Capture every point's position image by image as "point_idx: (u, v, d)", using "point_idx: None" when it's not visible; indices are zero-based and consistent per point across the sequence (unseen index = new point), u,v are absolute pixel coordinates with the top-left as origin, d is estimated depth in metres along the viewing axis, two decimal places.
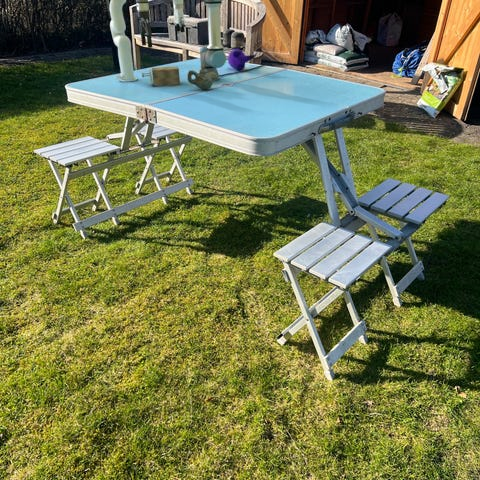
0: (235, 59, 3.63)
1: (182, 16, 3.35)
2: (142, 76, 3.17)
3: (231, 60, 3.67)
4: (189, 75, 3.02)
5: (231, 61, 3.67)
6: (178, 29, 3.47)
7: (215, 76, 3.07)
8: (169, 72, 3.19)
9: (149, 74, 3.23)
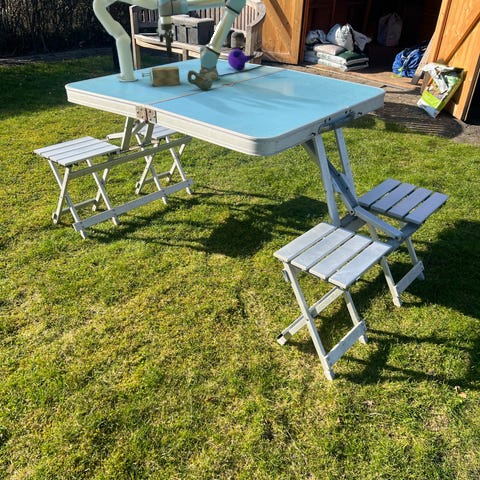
0: (235, 59, 3.63)
1: None
2: (142, 76, 3.17)
3: (231, 60, 3.67)
4: (189, 75, 3.02)
5: (231, 61, 3.67)
6: (162, 40, 3.35)
7: (215, 76, 3.07)
8: (169, 72, 3.19)
9: (149, 74, 3.23)
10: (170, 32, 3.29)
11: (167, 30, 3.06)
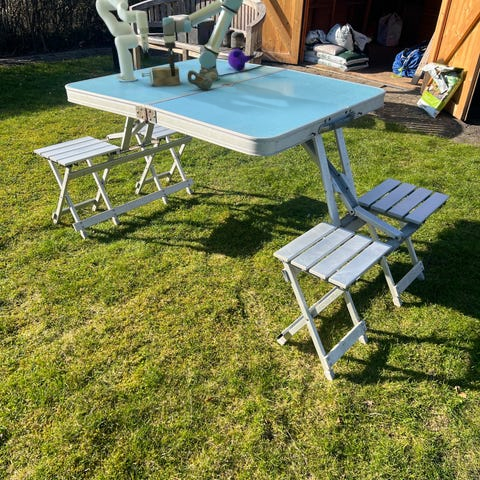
0: (235, 59, 3.63)
1: None
2: (142, 76, 3.17)
3: (231, 60, 3.67)
4: (189, 75, 3.02)
5: (231, 61, 3.67)
6: None
7: (215, 76, 3.07)
8: (169, 72, 3.19)
9: (149, 74, 3.23)
10: None
11: (170, 49, 3.13)
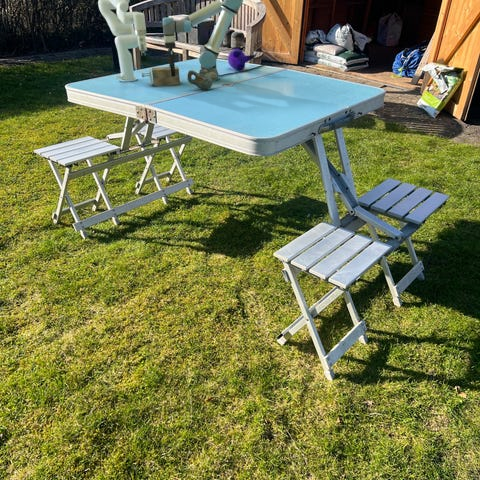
0: (235, 59, 3.63)
1: None
2: (142, 76, 3.17)
3: (231, 60, 3.67)
4: (189, 75, 3.02)
5: (231, 61, 3.67)
6: None
7: (215, 76, 3.07)
8: (169, 72, 3.19)
9: (149, 74, 3.23)
10: (141, 49, 3.14)
11: (170, 49, 3.13)
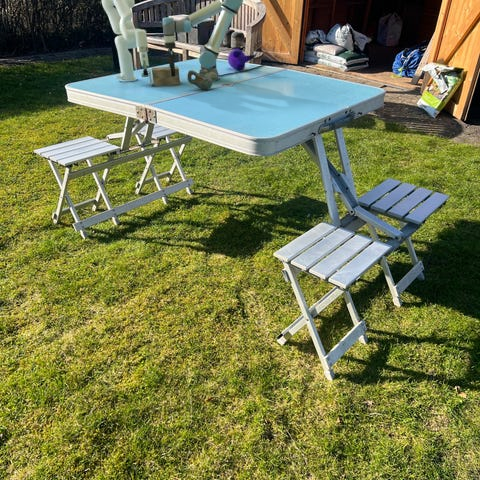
0: (235, 59, 3.63)
1: None
2: (142, 76, 3.17)
3: (231, 60, 3.67)
4: (189, 75, 3.02)
5: (231, 61, 3.67)
6: None
7: (215, 76, 3.07)
8: (169, 72, 3.19)
9: (149, 74, 3.23)
10: None
11: (170, 49, 3.13)
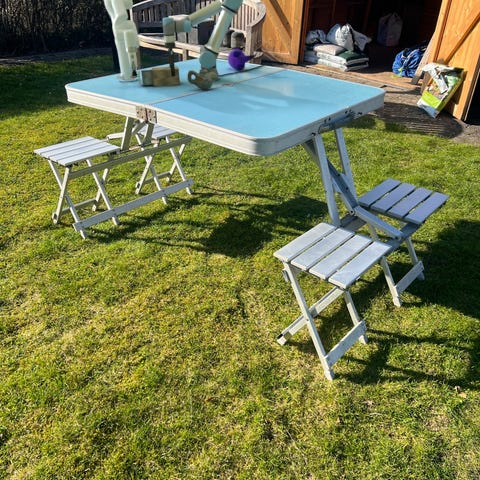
0: (235, 59, 3.63)
1: None
2: (131, 77, 3.16)
3: (231, 60, 3.67)
4: (189, 75, 3.02)
5: (231, 61, 3.67)
6: None
7: (215, 76, 3.07)
8: (169, 72, 3.19)
9: (138, 75, 3.22)
10: None
11: (170, 49, 3.13)
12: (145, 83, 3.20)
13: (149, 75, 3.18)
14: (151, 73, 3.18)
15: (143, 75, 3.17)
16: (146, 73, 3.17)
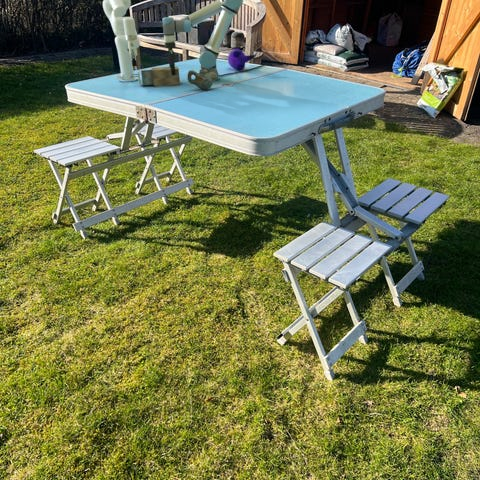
0: (235, 59, 3.63)
1: None
2: (130, 77, 3.16)
3: (231, 60, 3.67)
4: (189, 75, 3.02)
5: (231, 61, 3.67)
6: None
7: (215, 76, 3.07)
8: (169, 72, 3.19)
9: (138, 75, 3.22)
10: None
11: (170, 48, 3.13)
12: (145, 83, 3.20)
13: (149, 75, 3.18)
14: (151, 73, 3.18)
15: (143, 75, 3.18)
16: (146, 73, 3.17)
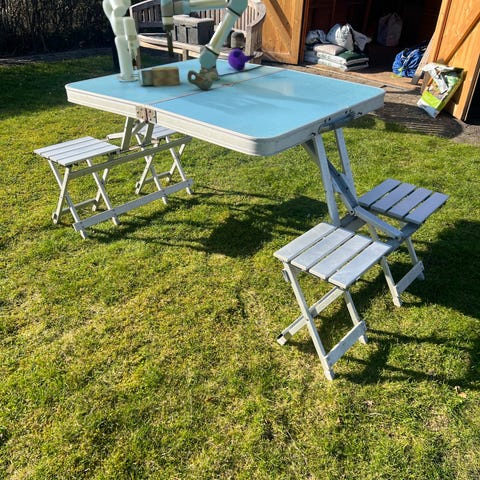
0: (235, 59, 3.63)
1: None
2: (130, 77, 3.16)
3: (231, 60, 3.67)
4: (189, 75, 3.02)
5: (231, 61, 3.67)
6: None
7: (215, 76, 3.07)
8: (169, 72, 3.19)
9: (138, 75, 3.22)
10: None
11: (169, 30, 3.07)
12: (145, 83, 3.20)
13: (149, 75, 3.18)
14: (151, 73, 3.18)
15: (143, 75, 3.18)
16: (146, 73, 3.17)
